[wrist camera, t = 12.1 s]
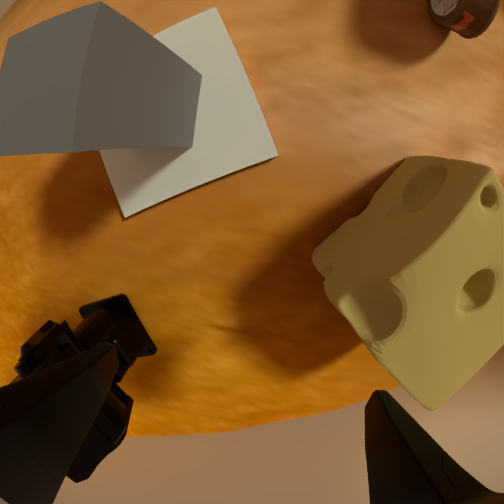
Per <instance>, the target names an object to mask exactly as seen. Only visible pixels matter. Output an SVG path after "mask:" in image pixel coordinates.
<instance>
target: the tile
mask: <svg viewBox="0 0 504 504" xmlns="http://www.w3.org/2000/svg"><path fill="white" fill-rule="evenodd" d="M153 37H154V38H156V39H157V40H158V41H160V42H161V43H162V44H164V45H165V46H166V47H168V48H169V49H170V50H171V51H173V52H174V53H175V54H177V55H178V56H179V57H180V58H182V59H183V60H184V61H185V62H187V63H188V64H189V65H190V66H192V67H193V68H194V69H195V70H196V71H198V72H199V73H200V74H201V75H202V81H201V87H200V94H199V101H198V108H197V115H196V123H195V131H194V139H193V147H141V148H122V149H107V150H99V152H100V154H101V157H102V160H103V163H104V166H105V168H106V171H107V174H108V177H109V179H110V182H111V185H112V187H113V190H114V192H115V195H116V197H117V200H118V202H119V205H120V207H121V210H122V212H123V214H124V217H125V218H126V217H128V216H130V215H132V214H134V213H136V212H139V211H141V210H143V209H145V208H147V207H150V206H152V205H154V204H156V203H158V202H161V201H163V200H165V199H168V198H170V197H172V196H175V195H177V194H179V193H182V192H184V191H186V190H189V189H191V188H194V187H196V186H199V185H201V184H203V183H206V182H208V181H211V180H214V179H216V178H219V177H221V176H224V175H226V174H229V173H232V172H234V171H237V170H240V169H242V168H245V167H248V166H251V165H253V164H256V163H259V162H262V161H265V160H268V159H270V158H273V157H276V156H279V155H278V152H277V149H276V147H275V144H274V141H273V139H272V136H271V133H270V131H269V128H268V126H267V123H266V121H265V118H264V116H263V113H262V110H261V108H260V105H259V103H258V101H257V98H256V96H255V93H254V91H253V88H252V86H251V84H250V81H249V79H248V76H247V74H246V72H245V69H244V67H243V65H242V62H241V60H240V58H239V56H238V53H237V51H236V49H235V47H234V44H233V42H232V40H231V38H230V35H229V33H228V31H227V29H226V27H225V25H224V23H223V20H222V18H221V16H220V14H219V12H218V10H217V8H216V7H214V8H212V9H209V10H207V11H204V12H202V13H200V14H197V15H195V16H193V17H190V18H188V19H186V20H184V21H181V22H179V23H177V24H175V25H173V26H171V27H169V28H167V29H165V30H163V31H161V32H159V33H157V34H155V35H154V36H153Z"/></svg>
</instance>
